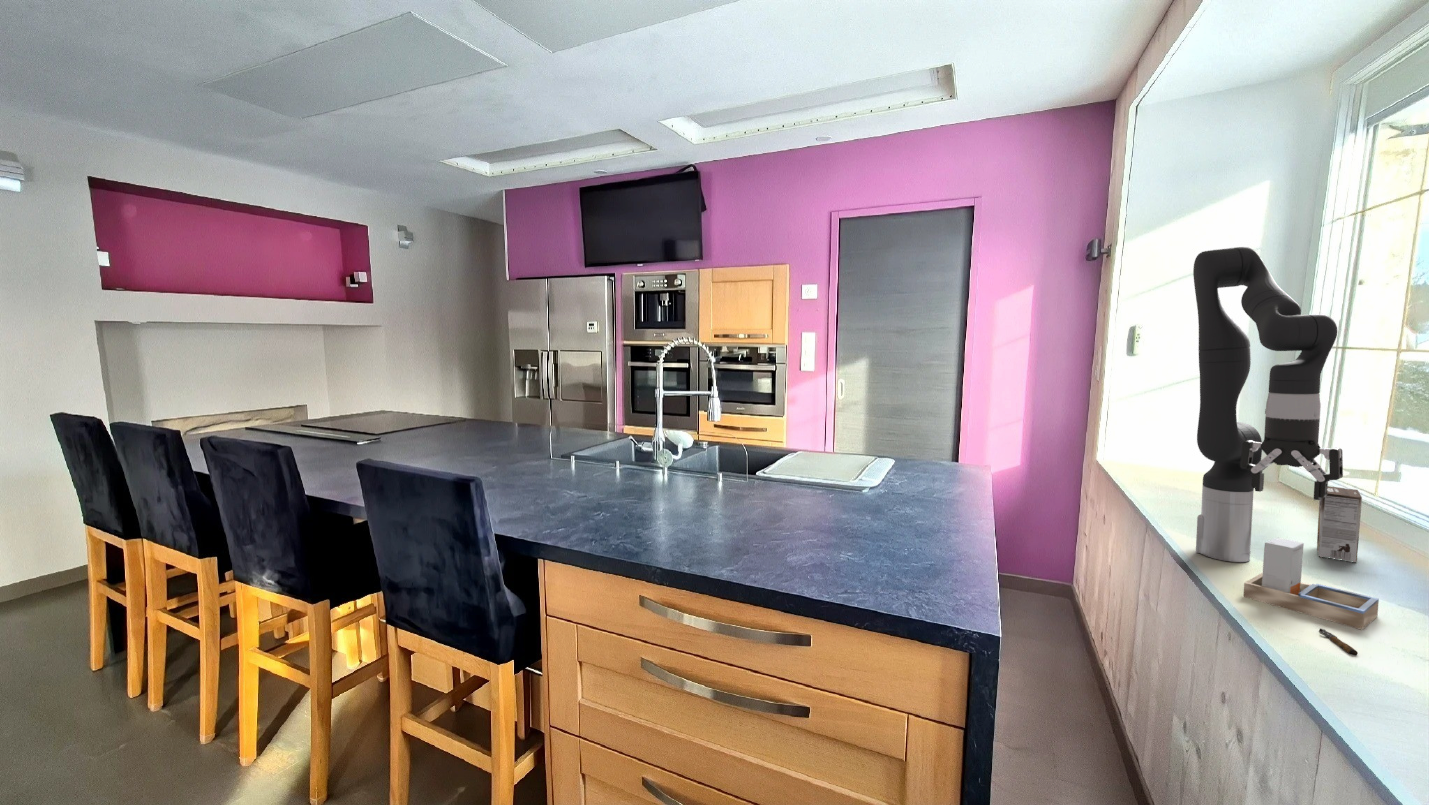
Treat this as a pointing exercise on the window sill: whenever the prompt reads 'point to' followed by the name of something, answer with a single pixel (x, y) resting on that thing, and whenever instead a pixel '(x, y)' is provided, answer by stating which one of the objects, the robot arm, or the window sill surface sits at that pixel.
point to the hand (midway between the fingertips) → (1287, 495)
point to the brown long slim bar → (1339, 642)
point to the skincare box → (1283, 565)
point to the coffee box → (1339, 524)
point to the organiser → (1318, 602)
